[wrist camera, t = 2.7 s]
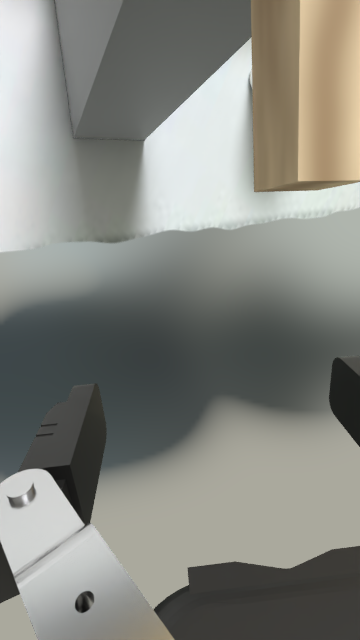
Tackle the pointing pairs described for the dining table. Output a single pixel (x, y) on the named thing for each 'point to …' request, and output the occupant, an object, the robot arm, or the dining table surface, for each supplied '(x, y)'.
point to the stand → (142, 58)
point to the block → (305, 94)
